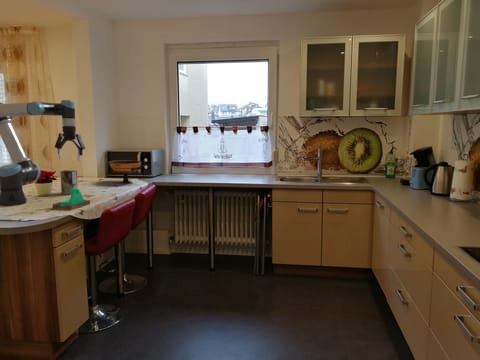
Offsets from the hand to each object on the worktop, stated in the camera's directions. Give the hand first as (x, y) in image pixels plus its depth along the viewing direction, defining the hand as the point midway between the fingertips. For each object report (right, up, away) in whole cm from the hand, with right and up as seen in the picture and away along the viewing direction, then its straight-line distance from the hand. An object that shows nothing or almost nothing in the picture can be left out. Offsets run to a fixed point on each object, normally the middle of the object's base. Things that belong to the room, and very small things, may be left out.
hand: (70, 160), depth 233 cm
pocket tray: (+4, -28, -7) cm, 29 cm away
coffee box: (-14, -22, +30) cm, 40 cm away
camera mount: (+4, -28, -7) cm, 29 cm away
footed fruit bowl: (+10, -15, +79) cm, 81 cm away
